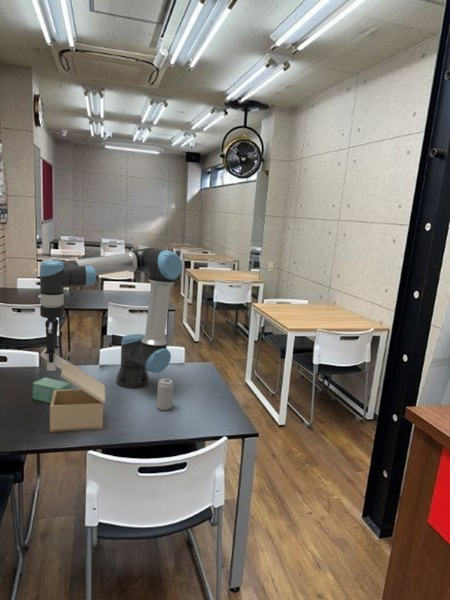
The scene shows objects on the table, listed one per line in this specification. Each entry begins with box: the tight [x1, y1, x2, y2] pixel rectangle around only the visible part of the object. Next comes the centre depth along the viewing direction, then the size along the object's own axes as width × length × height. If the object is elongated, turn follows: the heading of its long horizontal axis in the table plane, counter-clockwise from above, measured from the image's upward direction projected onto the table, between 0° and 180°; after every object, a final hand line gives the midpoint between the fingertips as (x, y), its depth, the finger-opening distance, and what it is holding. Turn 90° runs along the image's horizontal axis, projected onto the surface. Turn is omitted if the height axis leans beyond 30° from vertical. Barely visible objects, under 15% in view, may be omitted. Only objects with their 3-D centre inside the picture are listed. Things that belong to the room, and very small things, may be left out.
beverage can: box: [156, 378, 174, 411], centre depth 168 cm, size 6×6×12 cm
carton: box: [49, 388, 104, 434], centre depth 151 cm, size 18×14×10 cm
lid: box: [40, 347, 106, 404], centre depth 148 cm, size 27×14×2 cm
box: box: [32, 377, 72, 404], centre depth 167 cm, size 7×14×8 cm, turn 74°
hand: (51, 368), depth 145 cm, fingers closed on lid, 3 cm apart
